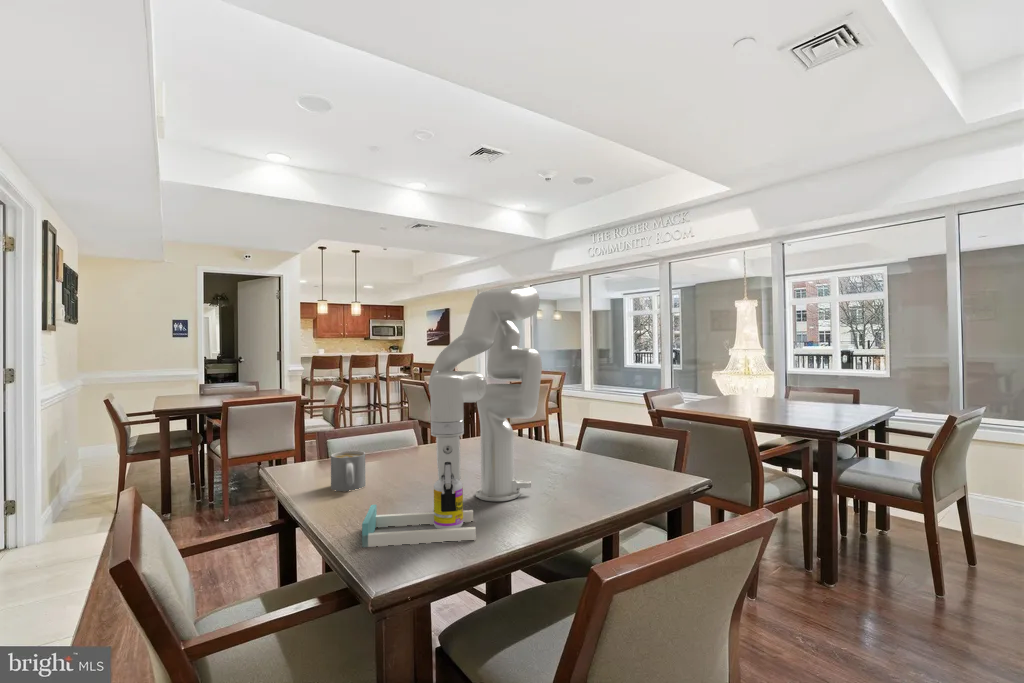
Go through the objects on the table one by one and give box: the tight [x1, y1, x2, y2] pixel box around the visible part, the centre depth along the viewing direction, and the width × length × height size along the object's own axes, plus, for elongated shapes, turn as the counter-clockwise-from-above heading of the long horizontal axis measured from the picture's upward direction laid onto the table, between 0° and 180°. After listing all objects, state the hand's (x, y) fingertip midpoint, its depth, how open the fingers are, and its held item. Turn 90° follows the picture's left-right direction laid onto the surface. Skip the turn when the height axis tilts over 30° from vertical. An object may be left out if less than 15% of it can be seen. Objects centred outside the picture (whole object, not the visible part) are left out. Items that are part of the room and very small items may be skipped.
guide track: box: [361, 504, 477, 548], centre depth 110 cm, size 24×12×5 cm, turn 98°
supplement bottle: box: [433, 473, 464, 529], centre depth 111 cm, size 7×7×13 cm
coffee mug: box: [330, 450, 366, 492], centre depth 145 cm, size 13×10×10 cm
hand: (448, 505), depth 111 cm, fingers closed on supplement bottle, 6 cm apart
